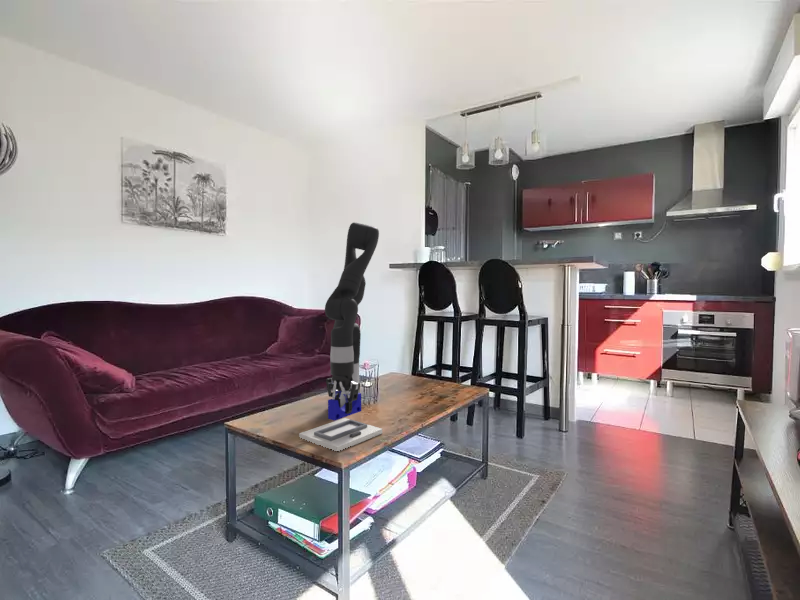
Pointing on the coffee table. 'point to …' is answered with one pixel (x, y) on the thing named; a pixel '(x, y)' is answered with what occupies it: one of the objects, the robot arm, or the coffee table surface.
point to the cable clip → (342, 408)
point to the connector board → (340, 434)
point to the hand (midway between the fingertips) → (342, 411)
